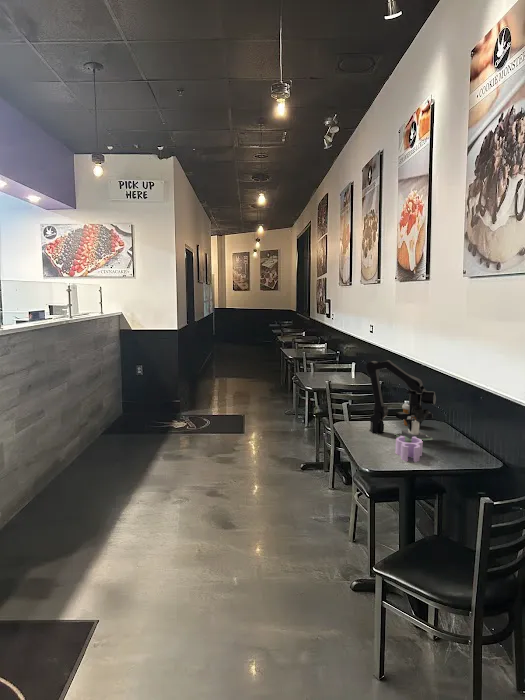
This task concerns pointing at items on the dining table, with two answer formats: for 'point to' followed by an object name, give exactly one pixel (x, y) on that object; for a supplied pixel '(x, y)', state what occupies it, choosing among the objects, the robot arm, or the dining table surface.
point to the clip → (409, 448)
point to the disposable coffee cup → (405, 410)
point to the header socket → (409, 435)
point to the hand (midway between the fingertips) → (413, 431)
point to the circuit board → (411, 439)
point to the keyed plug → (414, 427)
